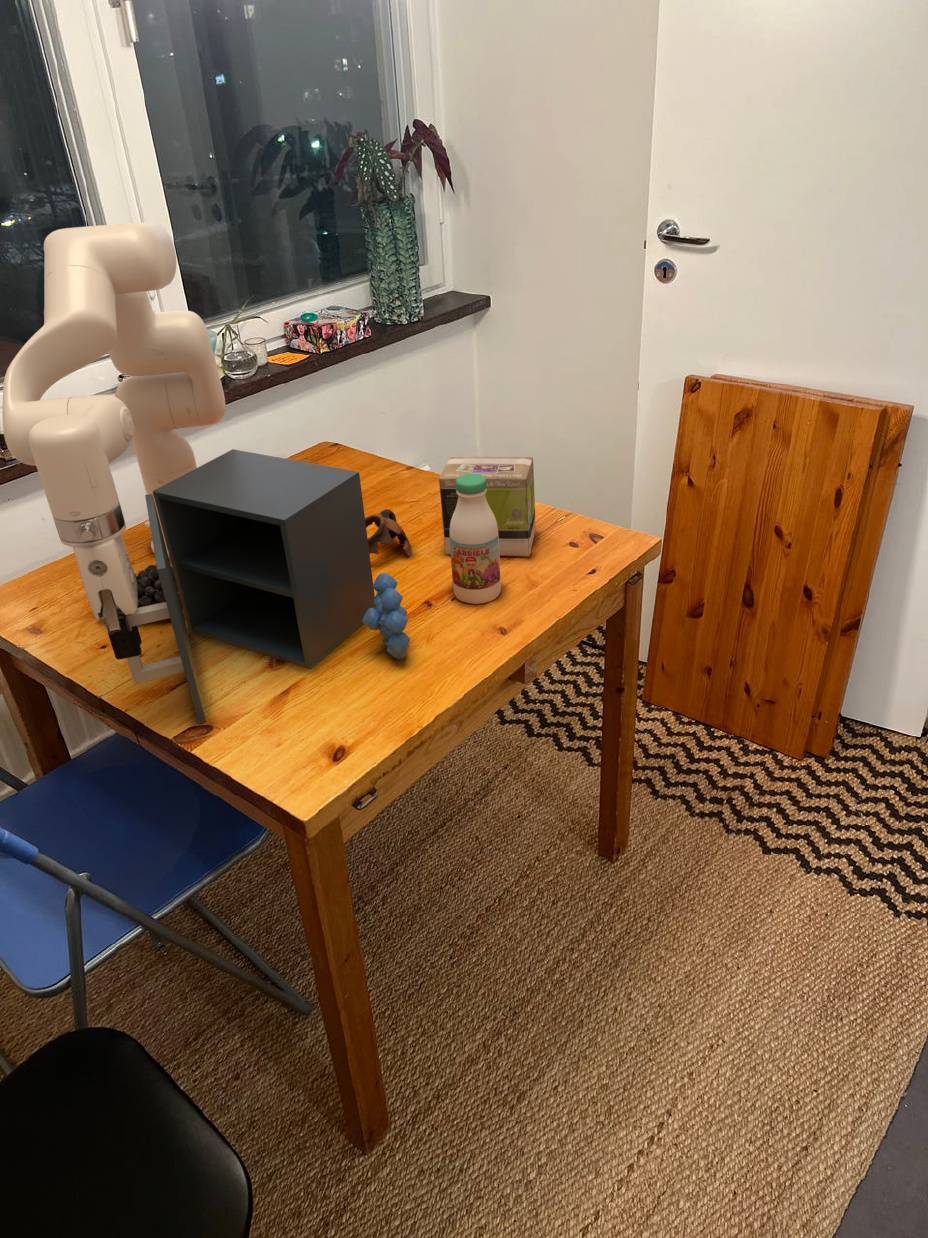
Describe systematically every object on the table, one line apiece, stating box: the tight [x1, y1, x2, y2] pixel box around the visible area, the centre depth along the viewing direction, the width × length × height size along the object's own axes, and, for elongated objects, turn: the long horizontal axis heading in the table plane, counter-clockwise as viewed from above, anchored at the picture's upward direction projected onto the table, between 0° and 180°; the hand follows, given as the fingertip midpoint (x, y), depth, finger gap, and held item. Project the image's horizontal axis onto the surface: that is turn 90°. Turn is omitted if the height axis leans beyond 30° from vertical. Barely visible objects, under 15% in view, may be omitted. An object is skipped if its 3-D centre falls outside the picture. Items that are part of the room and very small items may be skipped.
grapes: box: [362, 573, 411, 660], centre depth 132 cm, size 12×7×12 cm, turn 16°
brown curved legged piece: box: [365, 508, 413, 558], centre depth 161 cm, size 12×10×8 cm
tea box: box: [438, 456, 536, 557], centre depth 158 cm, size 15×10×15 cm
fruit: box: [134, 564, 183, 609], centre depth 146 cm, size 9×8×15 cm
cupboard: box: [153, 448, 376, 670], centre depth 137 cm, size 17×24×24 cm
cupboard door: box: [119, 494, 207, 725], centre depth 125 cm, size 8×24×24 cm, turn 20°
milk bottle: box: [450, 473, 502, 605], centre depth 142 cm, size 8×8×20 cm
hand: (129, 650), depth 117 cm, fingers closed on cupboard door
